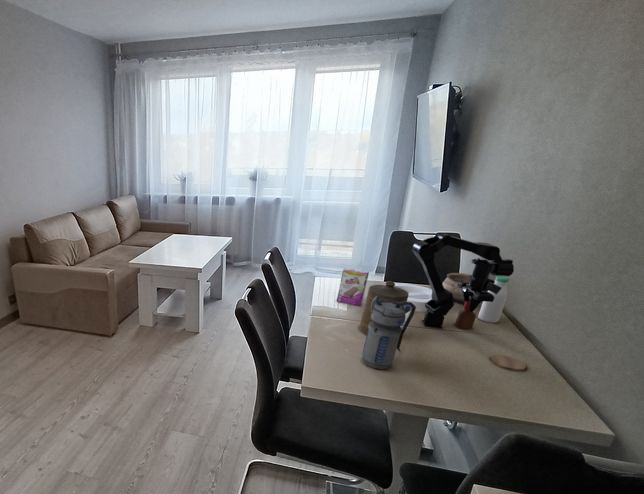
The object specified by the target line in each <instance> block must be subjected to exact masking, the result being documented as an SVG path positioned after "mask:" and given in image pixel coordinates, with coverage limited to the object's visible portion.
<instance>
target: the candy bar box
mask: <svg viewBox="0 0 644 494" xmlns="http://www.w3.org/2000/svg"><path fill="white" fill-rule="evenodd" d="M369 274H370V272H369V271H367V270H361V269H356V268H355V269H354V268H349V267H344V268H343V270H342V273H341V278H340V282H339V288H338V293H337V298H336V302H337V303H343V304H347V305H352V306H356V307H361V305H362V304H363V300H364V295H365V292H366V287H367V283H368V279H369Z"/></svg>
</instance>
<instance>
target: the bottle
mask: <svg viewBox="0 0 644 494" xmlns="http://www.w3.org/2000/svg"><path fill="white" fill-rule="evenodd" d="M476 318H477V314H476V313H475V311H473V312H470V311H467V310H465V309H461V310H459V311H458V314H457V316H456V319H455V322H454V326H455V327H456V328H458V329H461V330H466V331H467V330H468V331H469V330H470V331H471V330H472V329H473V326H474V324H475V321H476Z"/></svg>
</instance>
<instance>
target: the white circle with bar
mask: <svg viewBox="0 0 644 494" xmlns="http://www.w3.org/2000/svg"><path fill="white" fill-rule="evenodd" d="M394 283H395V286H394V287H398V288H401V289H403V290H405V291H407V292H408V294H409V295H408V299H407V302H411V303H413V304H414V305H415V306H416V309H415V312H420V313H426V310H427V308H425V303H427V302H428V301H430V300H431V299H432V297H431V295H432V289H431V287H430V288H429V287H426V286H422V285H418V284H413V283H404V282H394ZM383 285H386V283H384V284H383ZM411 308H412V307H411ZM409 312H411V310H410V311H409Z"/></svg>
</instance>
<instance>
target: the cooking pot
mask: <svg viewBox="0 0 644 494" xmlns="http://www.w3.org/2000/svg"><path fill="white" fill-rule="evenodd" d="M469 275H471V274H469V273H463V272H450V273H447V274H446V278H445V279H444V281H442V284H443V287H444V289H447V290H448V291H450V292H451V293H452V295H453V299H454V300H455V301H453V302H454V303H457V304H461V305H464V300H463V296H462V292H461V290H463V288H464V287H462V288H459V287H457V286H458V282H460V281H470V279H471V278H469ZM483 292H486V291H483Z"/></svg>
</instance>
